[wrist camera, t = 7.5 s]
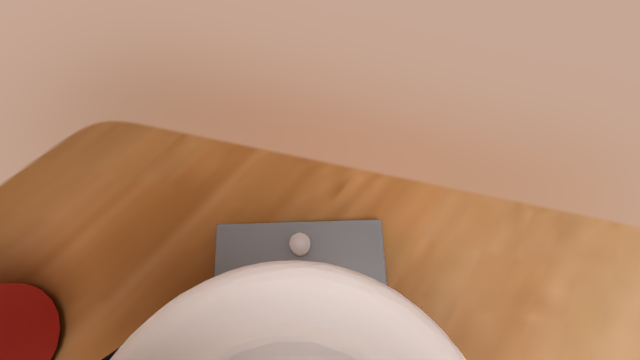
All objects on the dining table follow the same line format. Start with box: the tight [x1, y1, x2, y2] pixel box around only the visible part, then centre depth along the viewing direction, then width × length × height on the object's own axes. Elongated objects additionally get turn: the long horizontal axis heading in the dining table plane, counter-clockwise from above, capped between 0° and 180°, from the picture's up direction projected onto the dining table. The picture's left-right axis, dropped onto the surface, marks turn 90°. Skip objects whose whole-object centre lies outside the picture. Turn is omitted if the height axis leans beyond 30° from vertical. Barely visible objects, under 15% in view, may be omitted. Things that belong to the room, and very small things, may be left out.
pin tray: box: [214, 220, 387, 285], centre depth 20 cm, size 11×11×4 cm
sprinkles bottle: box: [110, 260, 466, 360], centre depth 9 cm, size 5×5×13 cm
